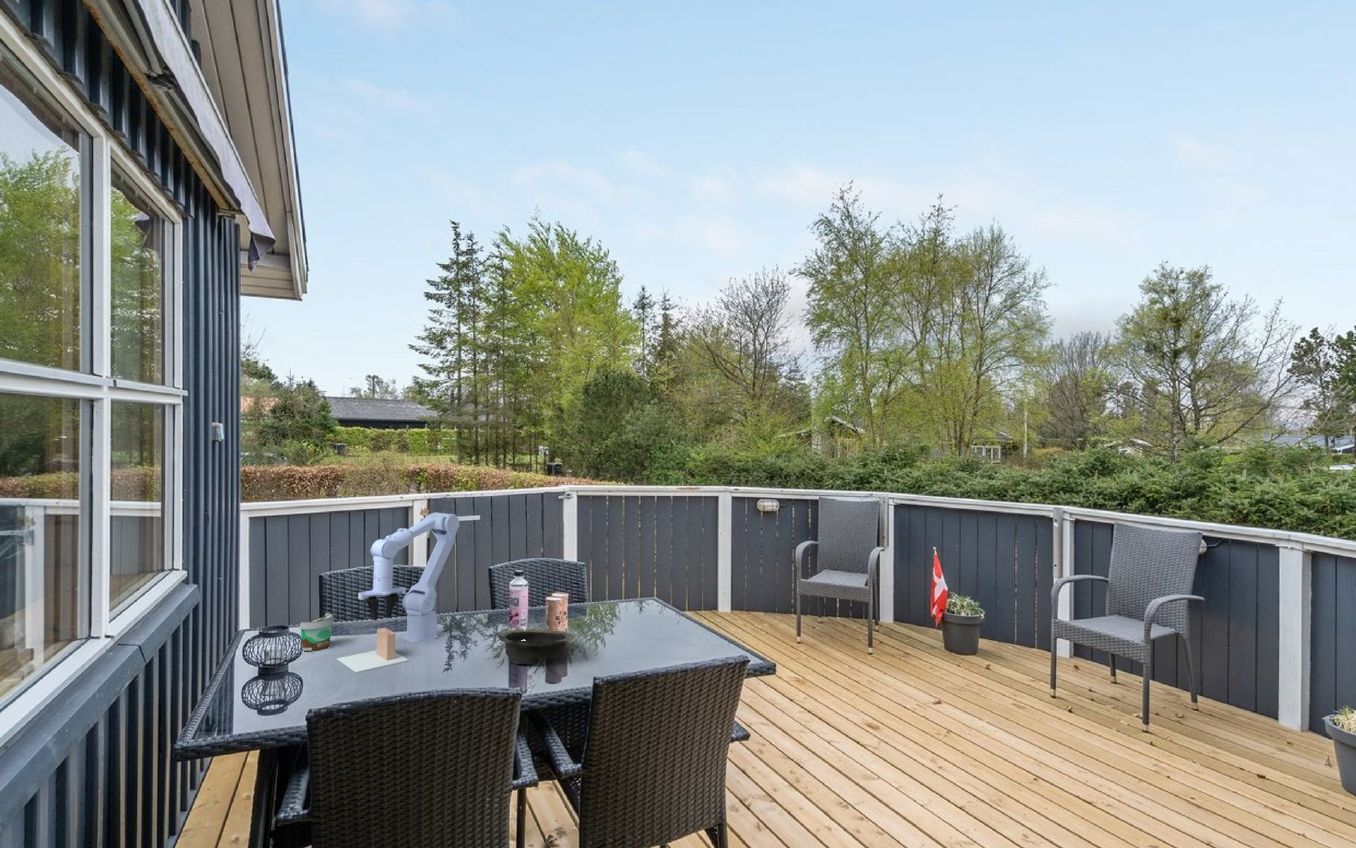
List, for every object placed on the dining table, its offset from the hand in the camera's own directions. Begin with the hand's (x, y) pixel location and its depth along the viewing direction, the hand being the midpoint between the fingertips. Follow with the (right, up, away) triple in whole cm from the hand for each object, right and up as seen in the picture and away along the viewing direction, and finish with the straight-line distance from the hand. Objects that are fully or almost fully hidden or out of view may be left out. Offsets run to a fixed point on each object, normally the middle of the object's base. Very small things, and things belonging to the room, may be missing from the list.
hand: (381, 618), depth 224 cm
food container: (-20, -10, 0) cm, 22 cm away
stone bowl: (+51, -12, -2) cm, 52 cm away
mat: (+1, -10, -10) cm, 14 cm away
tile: (+4, -10, -7) cm, 13 cm away
